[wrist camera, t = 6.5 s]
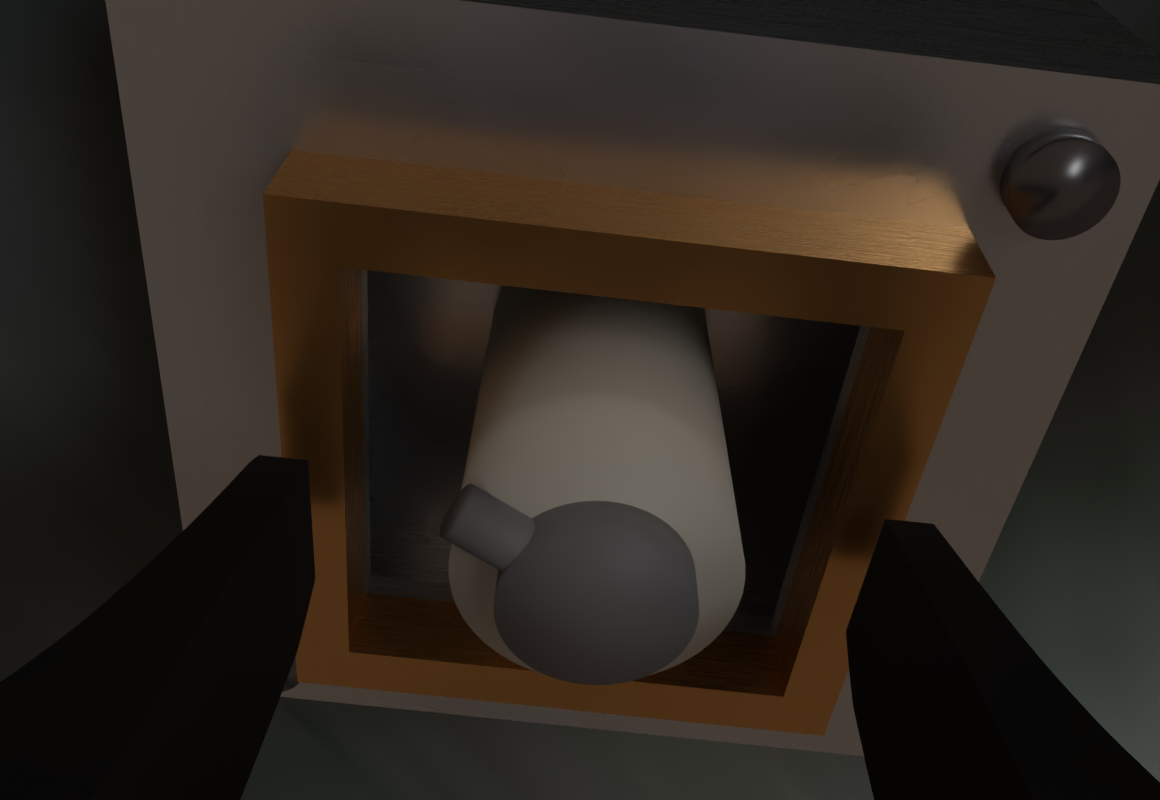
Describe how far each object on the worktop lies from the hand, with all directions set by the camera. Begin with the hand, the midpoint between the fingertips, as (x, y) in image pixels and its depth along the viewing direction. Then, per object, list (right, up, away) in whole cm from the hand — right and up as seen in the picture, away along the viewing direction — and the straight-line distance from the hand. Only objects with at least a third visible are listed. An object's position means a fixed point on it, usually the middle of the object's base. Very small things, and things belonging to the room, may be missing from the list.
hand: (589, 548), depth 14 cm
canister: (0, +3, +5) cm, 5 cm away
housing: (0, +3, +5) cm, 6 cm away
